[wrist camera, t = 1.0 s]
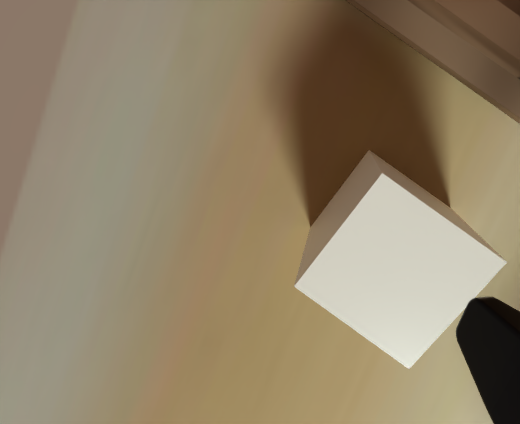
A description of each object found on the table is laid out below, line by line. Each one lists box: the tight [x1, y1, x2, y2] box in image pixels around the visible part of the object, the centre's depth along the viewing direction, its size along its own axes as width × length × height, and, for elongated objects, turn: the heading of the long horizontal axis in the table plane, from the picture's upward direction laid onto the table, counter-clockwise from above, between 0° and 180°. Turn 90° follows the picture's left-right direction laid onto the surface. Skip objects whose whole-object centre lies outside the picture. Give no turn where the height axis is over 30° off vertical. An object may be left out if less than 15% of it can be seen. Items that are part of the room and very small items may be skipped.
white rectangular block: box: [294, 150, 507, 369], centre depth 17 cm, size 4×4×7 cm
